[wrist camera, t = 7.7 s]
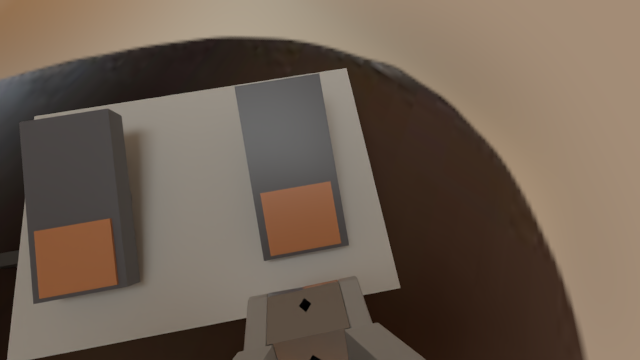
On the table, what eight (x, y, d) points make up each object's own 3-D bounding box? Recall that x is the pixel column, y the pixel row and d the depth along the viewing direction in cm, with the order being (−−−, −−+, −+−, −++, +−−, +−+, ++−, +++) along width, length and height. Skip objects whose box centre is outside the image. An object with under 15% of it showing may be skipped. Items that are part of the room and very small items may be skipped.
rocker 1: (60, 295, 17) (30, 305, 15) (46, 131, 18) (16, 121, 16) (145, 279, 17) (125, 287, 15) (126, 118, 18) (106, 107, 16)
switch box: (-6, 361, 23) (-167, 397, 15) (17, 175, 27) (-99, 132, 20) (375, 287, 25) (400, 288, 17) (339, 122, 29) (345, 64, 21)
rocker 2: (267, 254, 18) (263, 261, 16) (240, 96, 18) (233, 85, 16) (344, 239, 18) (349, 245, 16) (317, 83, 18) (319, 72, 17)
